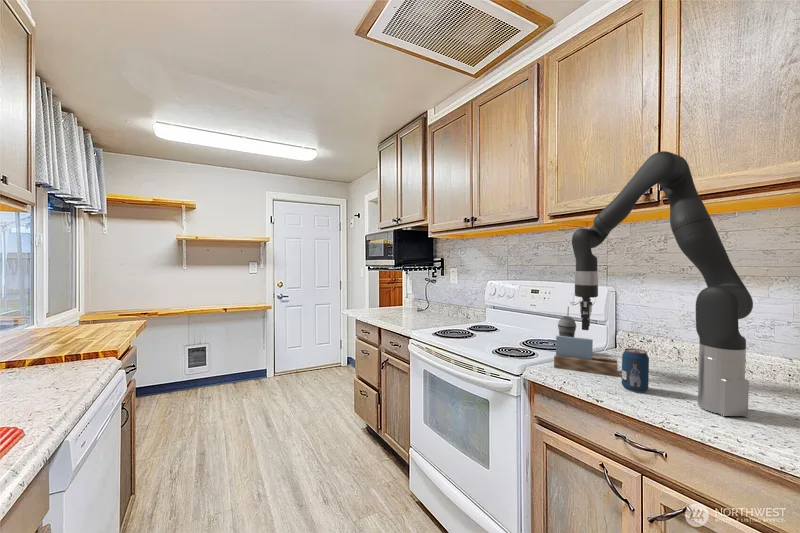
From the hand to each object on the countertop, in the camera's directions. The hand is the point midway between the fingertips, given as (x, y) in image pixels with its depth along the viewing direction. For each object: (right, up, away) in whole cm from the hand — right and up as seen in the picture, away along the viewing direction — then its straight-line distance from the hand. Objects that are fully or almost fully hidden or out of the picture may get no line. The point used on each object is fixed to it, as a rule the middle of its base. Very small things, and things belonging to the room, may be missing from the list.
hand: (585, 328), depth 130 cm
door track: (0, -15, 0) cm, 15 cm away
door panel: (-3, -14, +2) cm, 15 cm away
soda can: (+5, -16, -20) cm, 26 cm away
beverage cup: (+4, -15, +23) cm, 28 cm away
